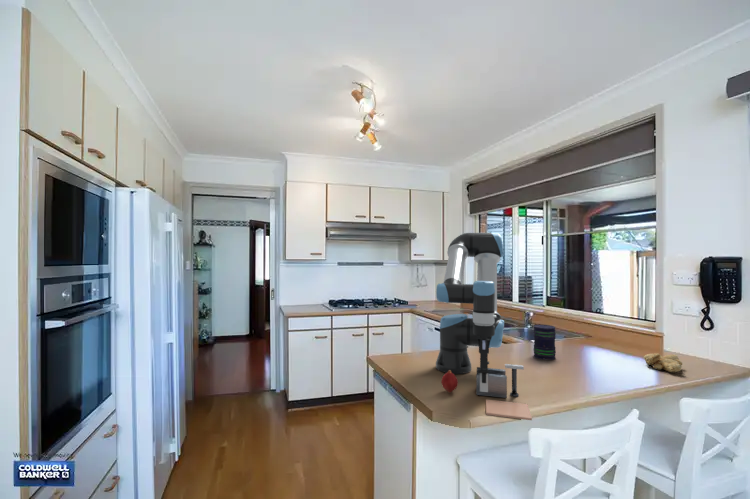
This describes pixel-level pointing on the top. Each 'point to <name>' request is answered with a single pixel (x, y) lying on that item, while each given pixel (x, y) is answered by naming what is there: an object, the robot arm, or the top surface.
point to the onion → (449, 381)
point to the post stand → (514, 378)
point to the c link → (493, 383)
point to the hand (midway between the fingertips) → (483, 386)
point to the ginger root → (664, 362)
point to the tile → (508, 409)
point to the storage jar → (544, 342)
